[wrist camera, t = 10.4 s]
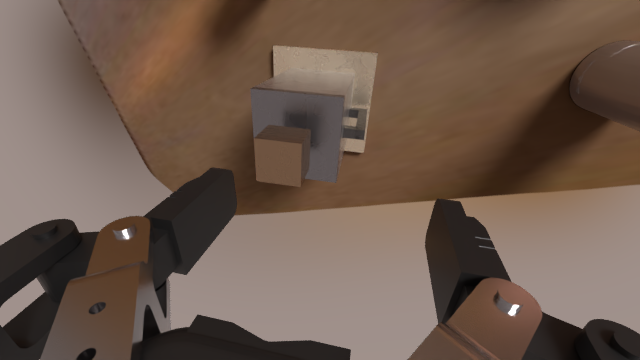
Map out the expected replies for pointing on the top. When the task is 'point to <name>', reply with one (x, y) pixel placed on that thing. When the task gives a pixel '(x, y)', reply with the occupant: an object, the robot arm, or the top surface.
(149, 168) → the top surface
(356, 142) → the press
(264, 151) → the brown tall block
